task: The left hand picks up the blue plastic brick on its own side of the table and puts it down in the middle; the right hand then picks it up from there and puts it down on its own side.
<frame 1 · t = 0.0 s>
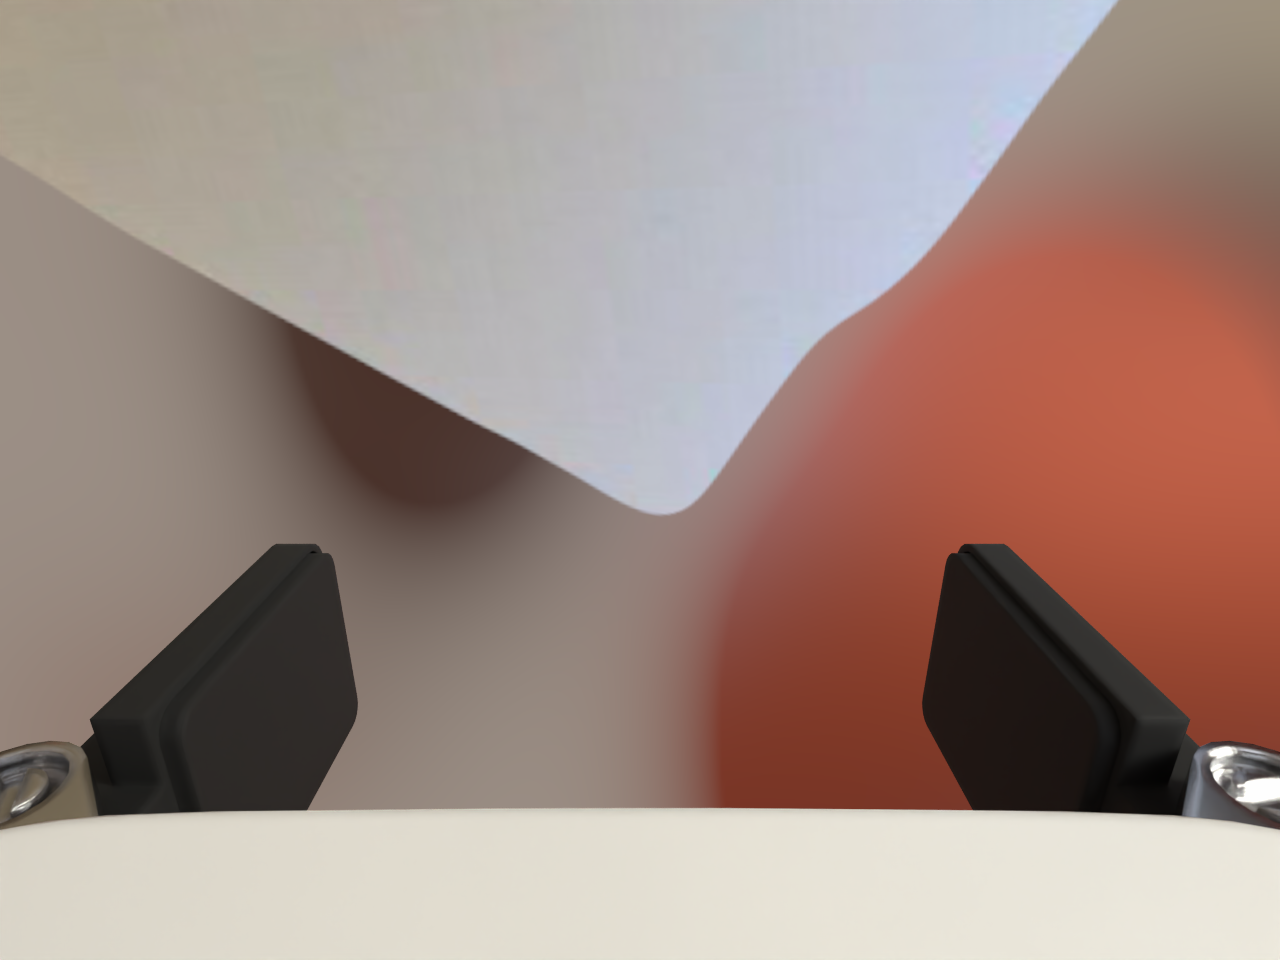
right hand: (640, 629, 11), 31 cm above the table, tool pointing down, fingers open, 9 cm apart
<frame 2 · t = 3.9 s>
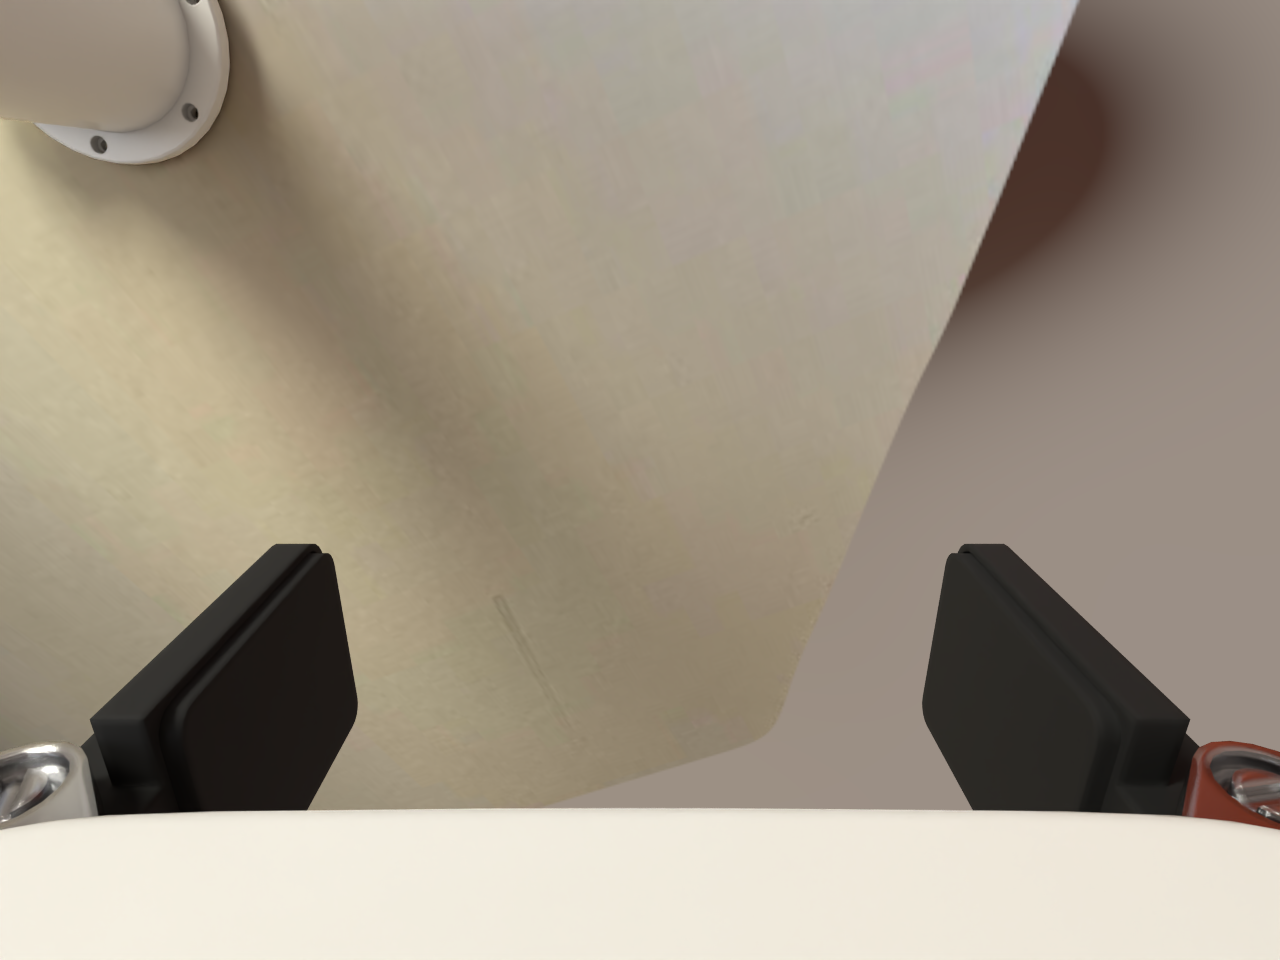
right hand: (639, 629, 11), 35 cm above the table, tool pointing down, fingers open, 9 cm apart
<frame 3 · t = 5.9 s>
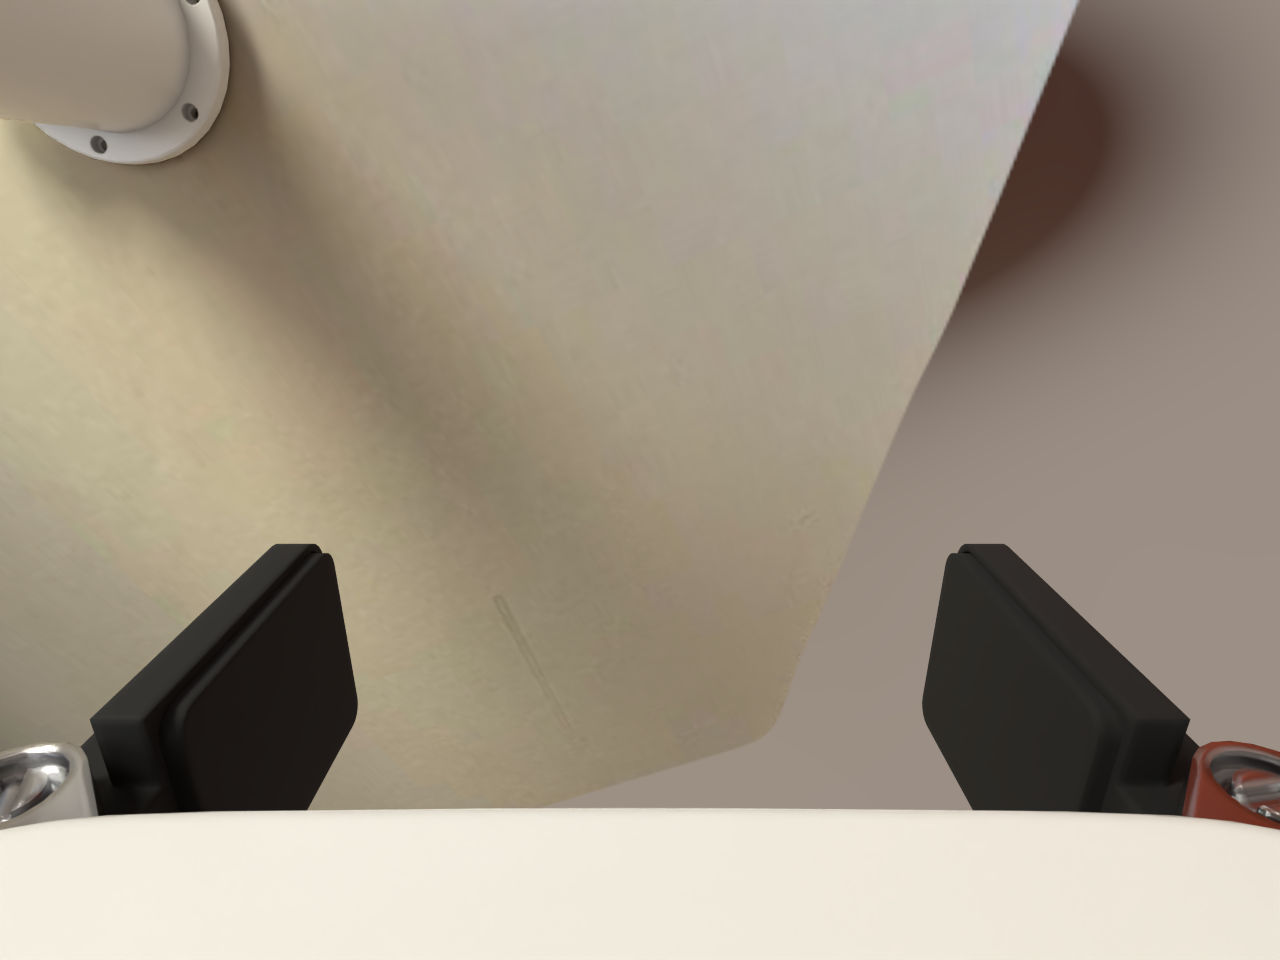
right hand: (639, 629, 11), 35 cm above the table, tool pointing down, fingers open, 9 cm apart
when the left hand's fingers open (4 cm above the table, at t = 7.9 s): brick drops 2 cm, on the table.
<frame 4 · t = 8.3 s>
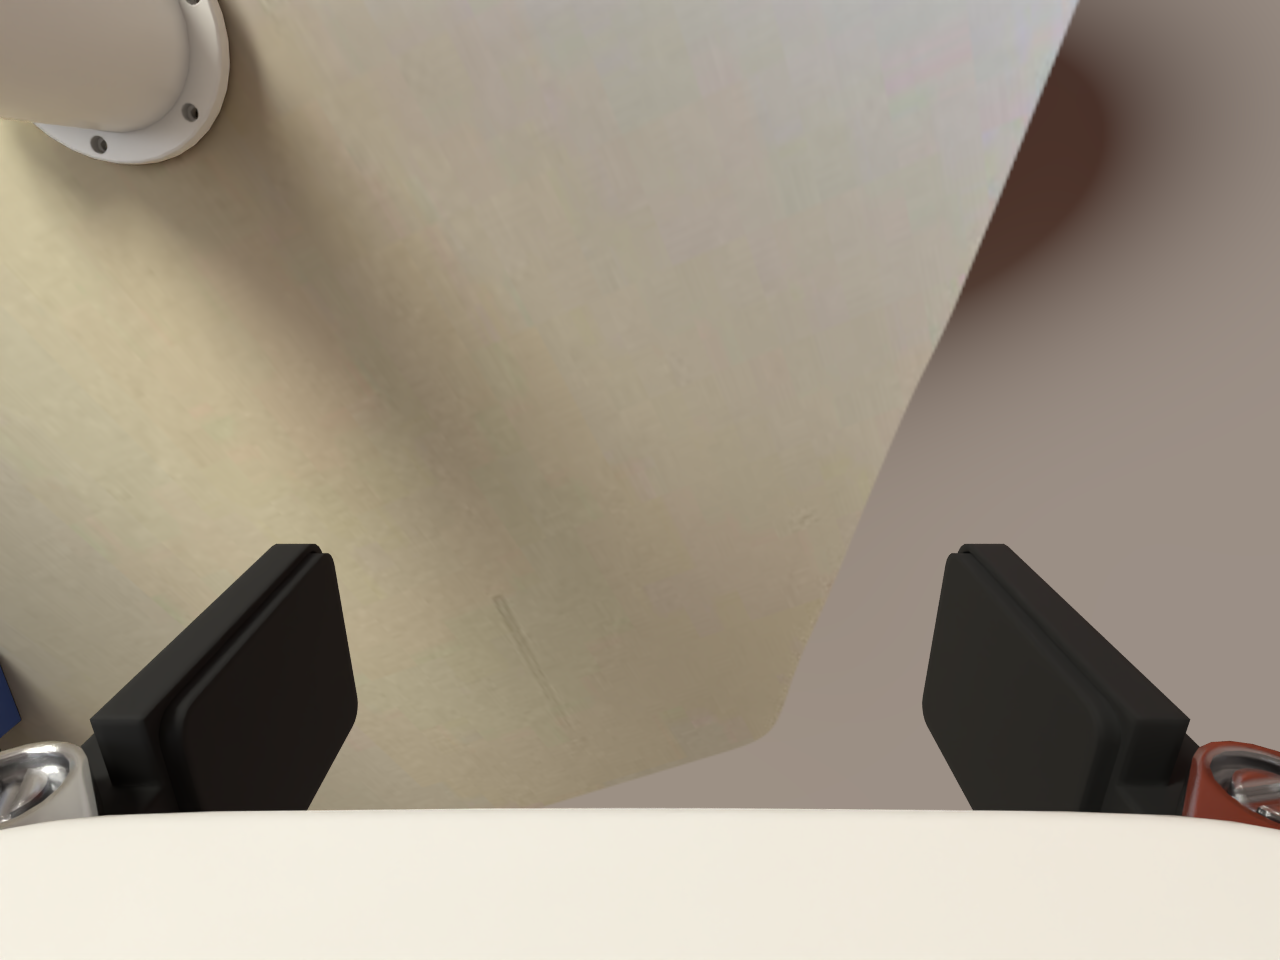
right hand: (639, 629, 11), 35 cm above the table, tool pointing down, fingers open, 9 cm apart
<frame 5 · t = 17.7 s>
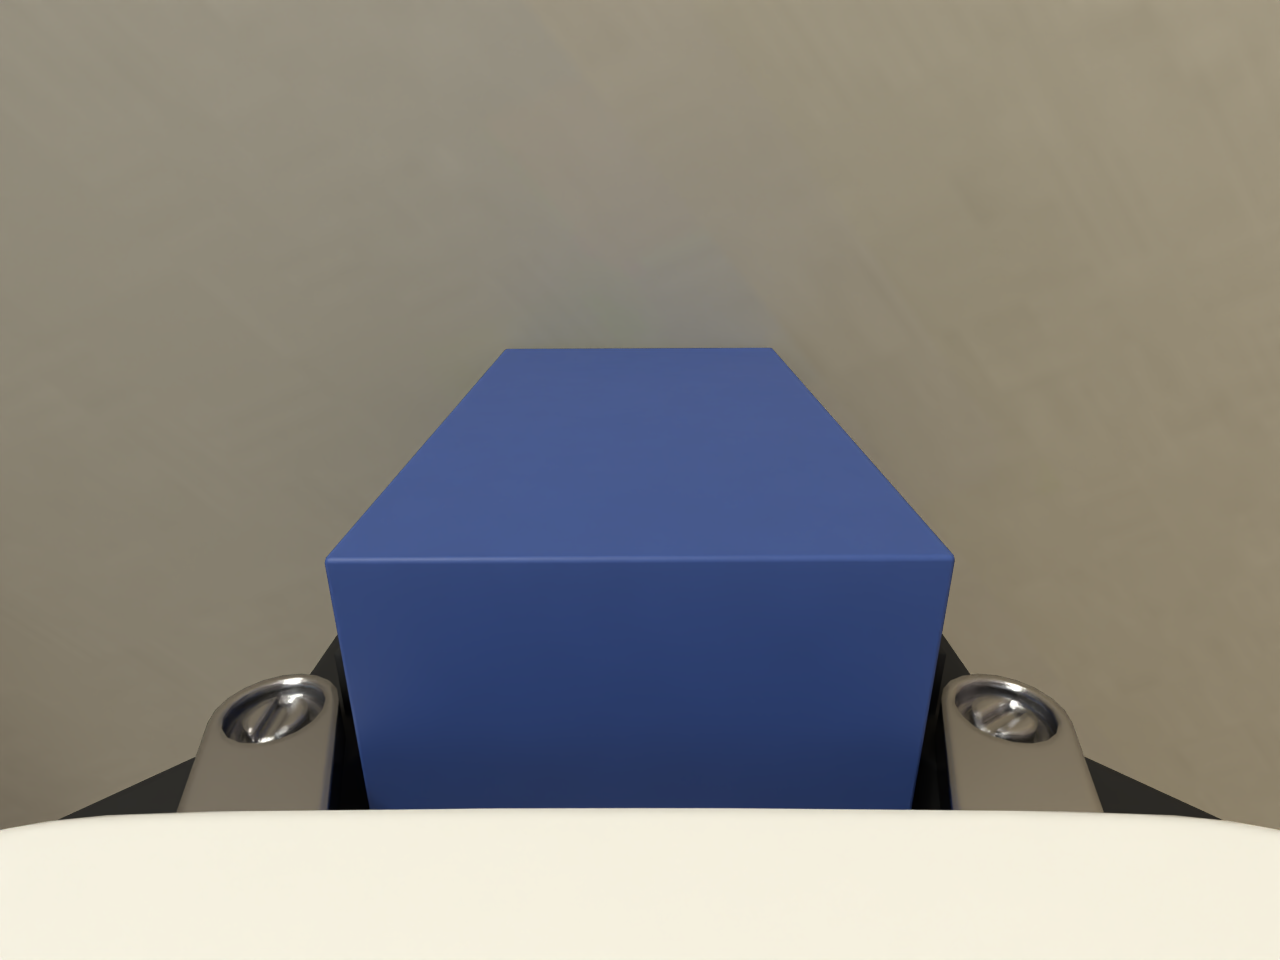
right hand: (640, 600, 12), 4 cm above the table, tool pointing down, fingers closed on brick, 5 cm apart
brick: (639, 503, 15), on the table, touching right hand
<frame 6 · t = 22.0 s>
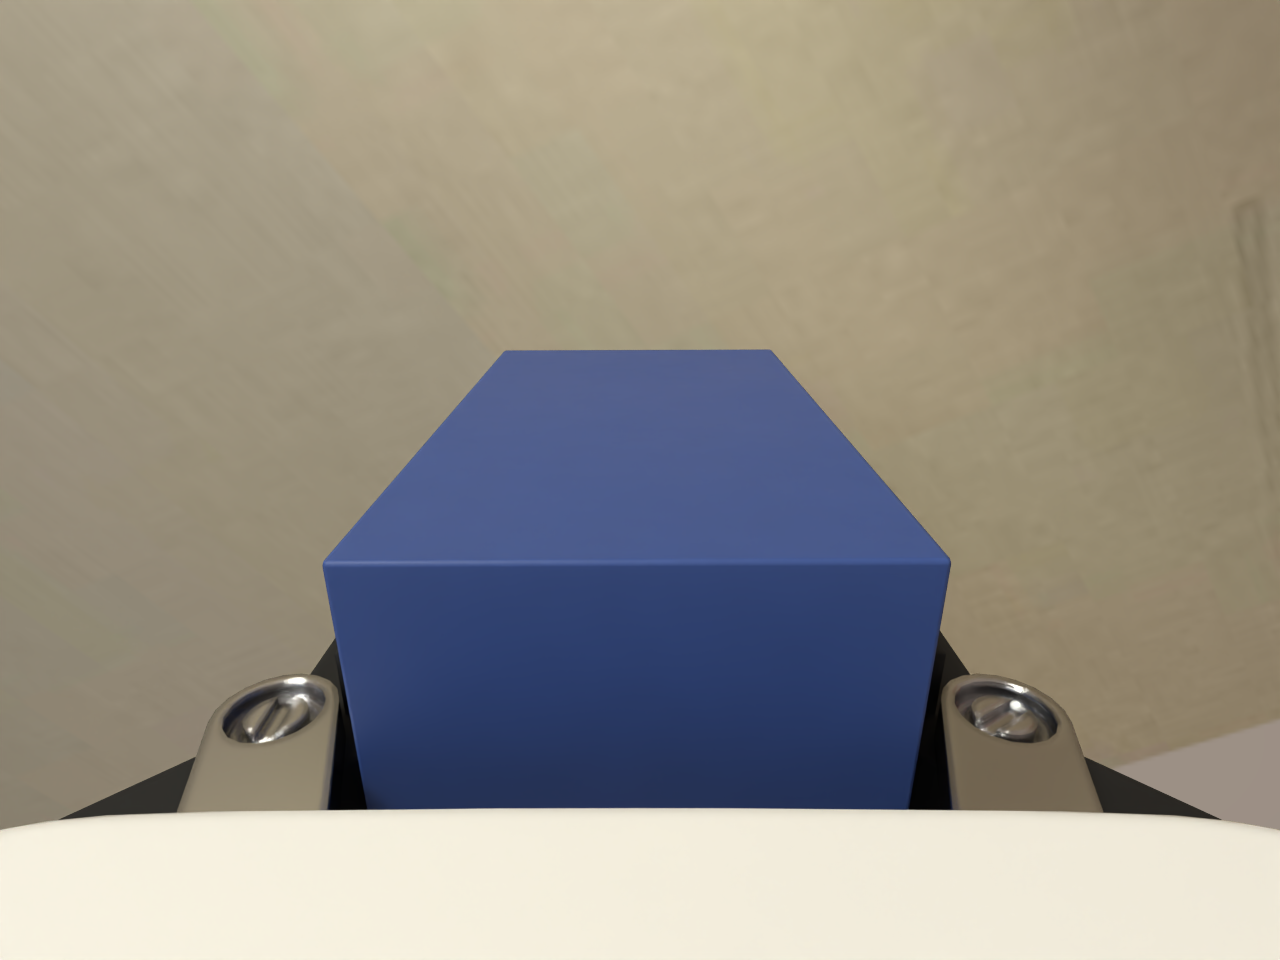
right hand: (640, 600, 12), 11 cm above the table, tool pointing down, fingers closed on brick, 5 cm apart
brick: (638, 505, 15), point 8 cm above the table, touching right hand
when the right hand's fingers open (5 cm above the table, at t = 26.3 s): brick drops 1 cm, on the table.
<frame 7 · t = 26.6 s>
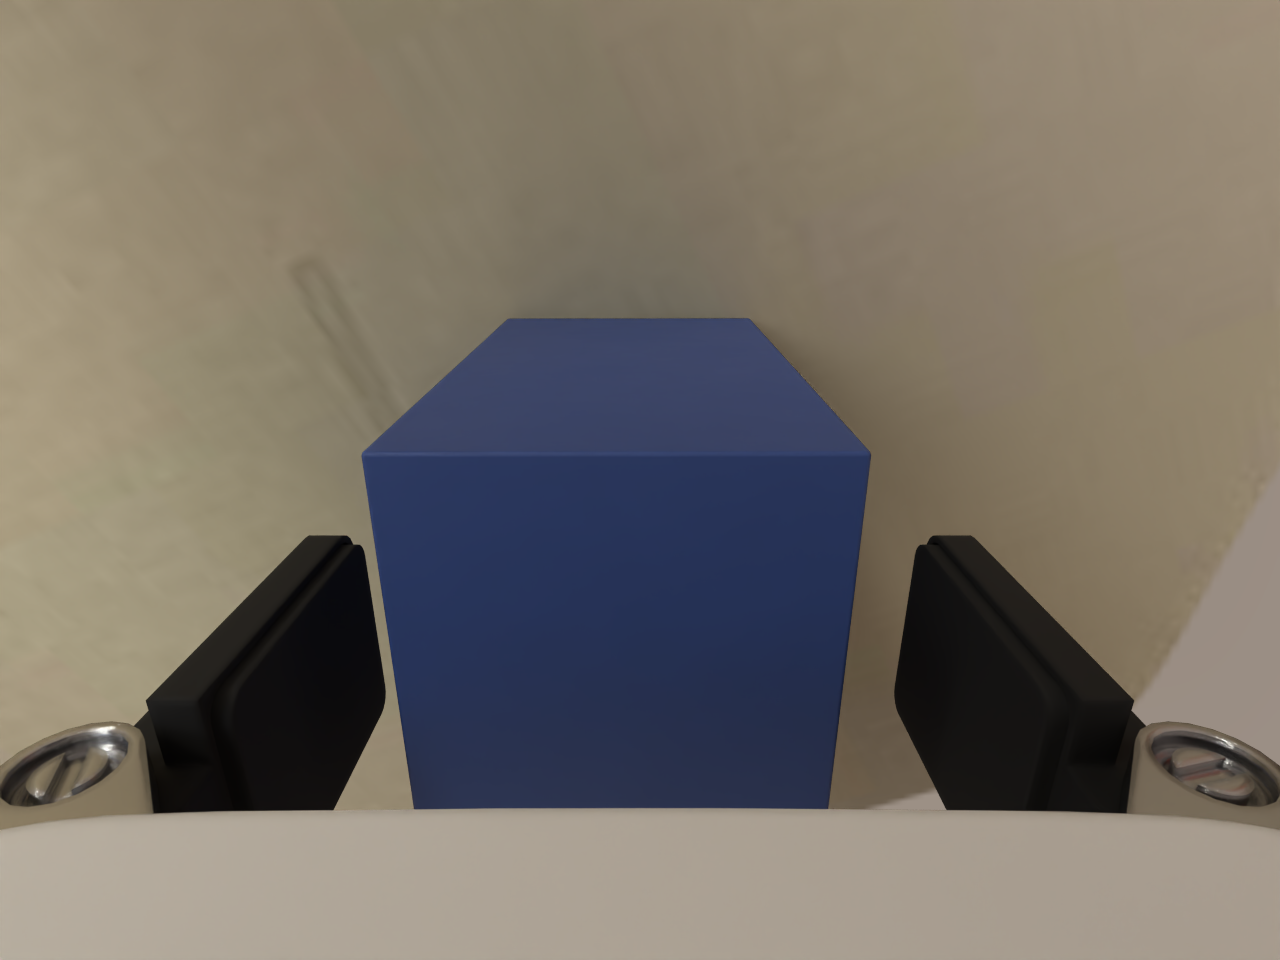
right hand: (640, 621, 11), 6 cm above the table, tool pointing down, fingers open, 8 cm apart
brick: (629, 462, 17), on the table
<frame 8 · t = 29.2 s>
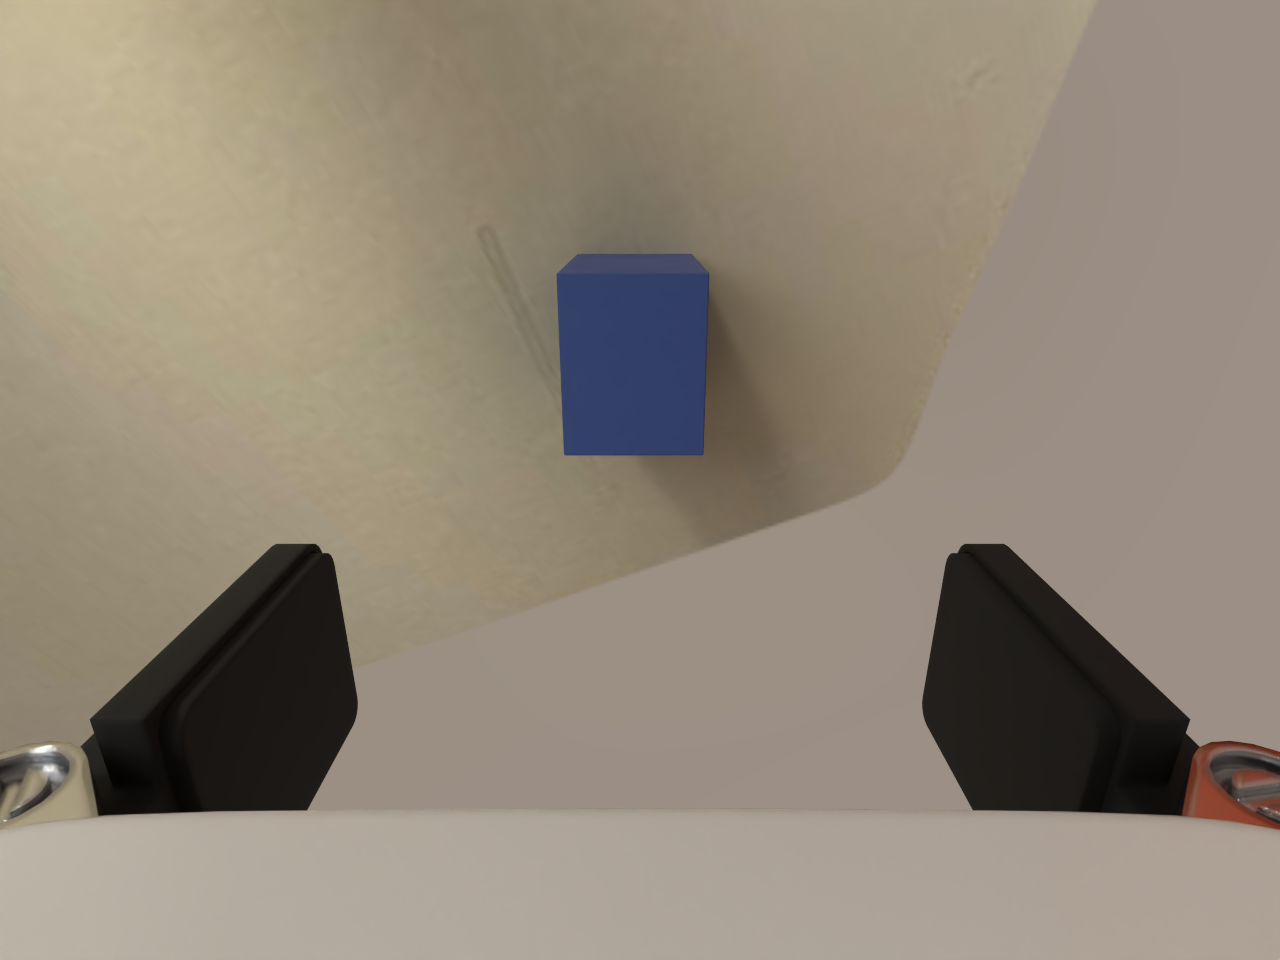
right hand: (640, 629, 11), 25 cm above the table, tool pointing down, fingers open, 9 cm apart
brick: (634, 327, 34), on the table
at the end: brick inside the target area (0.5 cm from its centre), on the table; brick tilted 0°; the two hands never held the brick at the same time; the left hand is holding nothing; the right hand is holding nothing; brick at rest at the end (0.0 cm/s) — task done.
